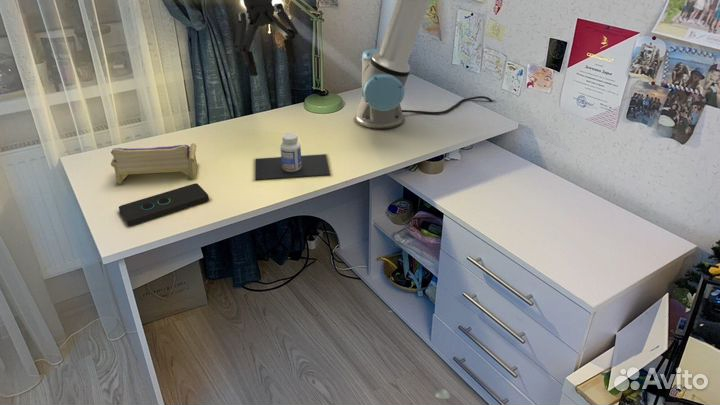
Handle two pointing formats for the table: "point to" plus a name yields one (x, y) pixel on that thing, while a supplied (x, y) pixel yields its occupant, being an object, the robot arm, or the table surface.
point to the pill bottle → (290, 153)
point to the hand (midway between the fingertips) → (273, 68)
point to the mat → (310, 167)
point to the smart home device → (163, 204)
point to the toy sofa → (154, 160)
